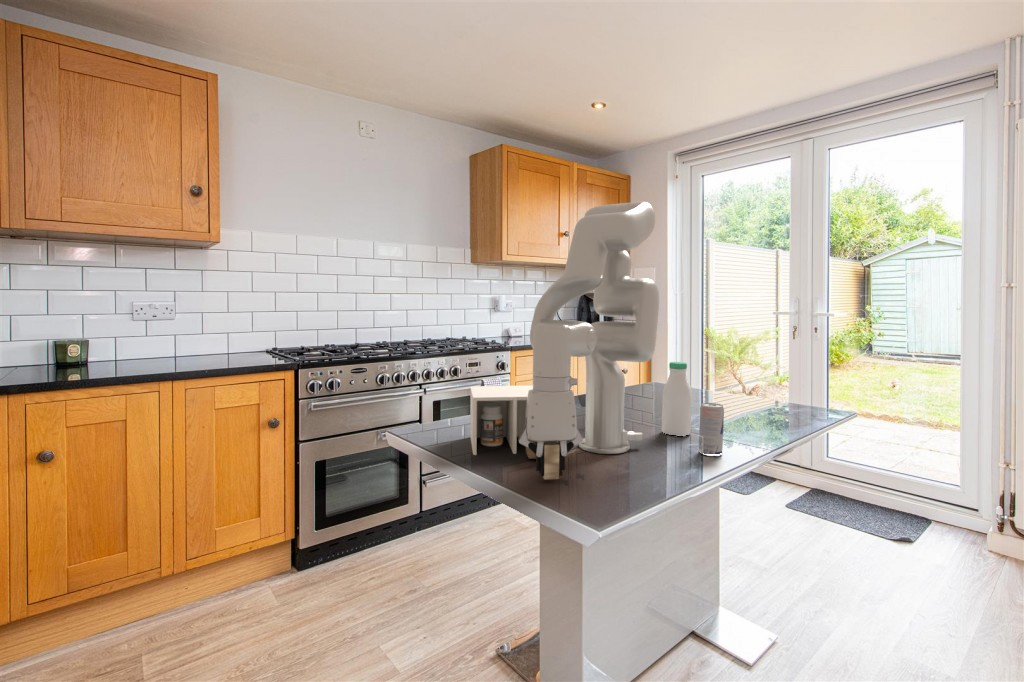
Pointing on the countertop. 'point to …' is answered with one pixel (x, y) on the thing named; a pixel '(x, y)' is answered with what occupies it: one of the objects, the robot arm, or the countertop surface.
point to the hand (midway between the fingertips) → (550, 473)
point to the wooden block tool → (548, 459)
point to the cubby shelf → (511, 410)
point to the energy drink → (711, 428)
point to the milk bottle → (677, 401)
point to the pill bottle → (491, 425)
